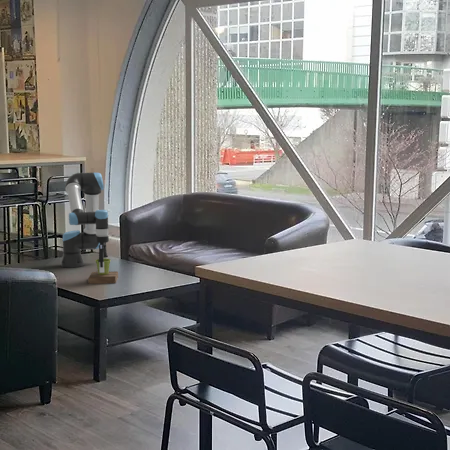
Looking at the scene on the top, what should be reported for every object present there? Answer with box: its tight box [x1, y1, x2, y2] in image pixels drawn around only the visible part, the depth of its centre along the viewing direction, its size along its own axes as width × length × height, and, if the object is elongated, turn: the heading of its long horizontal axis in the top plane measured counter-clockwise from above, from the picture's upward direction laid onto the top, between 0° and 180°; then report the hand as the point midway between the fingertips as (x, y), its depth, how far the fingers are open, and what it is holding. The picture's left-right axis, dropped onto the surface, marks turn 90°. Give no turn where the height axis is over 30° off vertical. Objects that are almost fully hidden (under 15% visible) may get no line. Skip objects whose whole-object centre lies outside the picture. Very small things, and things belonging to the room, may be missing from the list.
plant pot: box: [94, 258, 112, 275], centre depth 427 cm, size 9×9×9 cm
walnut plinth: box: [88, 270, 119, 285], centre depth 428 cm, size 16×16×4 cm
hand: (103, 270), depth 427 cm, fingers open, 13 cm apart
